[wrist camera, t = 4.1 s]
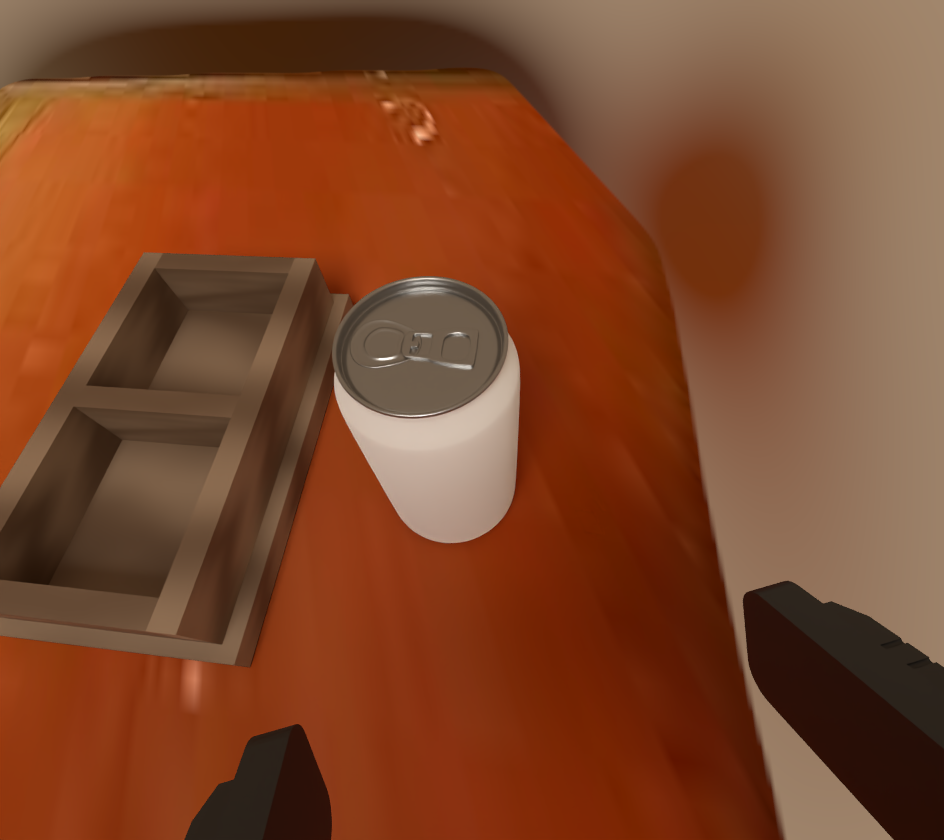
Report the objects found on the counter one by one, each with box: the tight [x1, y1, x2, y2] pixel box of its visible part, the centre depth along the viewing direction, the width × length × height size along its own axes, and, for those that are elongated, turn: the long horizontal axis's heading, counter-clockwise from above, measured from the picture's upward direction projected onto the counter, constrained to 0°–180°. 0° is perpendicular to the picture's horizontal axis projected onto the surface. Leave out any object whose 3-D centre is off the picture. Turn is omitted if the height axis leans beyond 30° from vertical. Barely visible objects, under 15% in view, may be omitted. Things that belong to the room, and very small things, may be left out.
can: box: [332, 276, 520, 543], centre depth 21 cm, size 6×6×12 cm
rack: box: [0, 253, 353, 667], centre depth 26 cm, size 21×12×5 cm, turn 174°
